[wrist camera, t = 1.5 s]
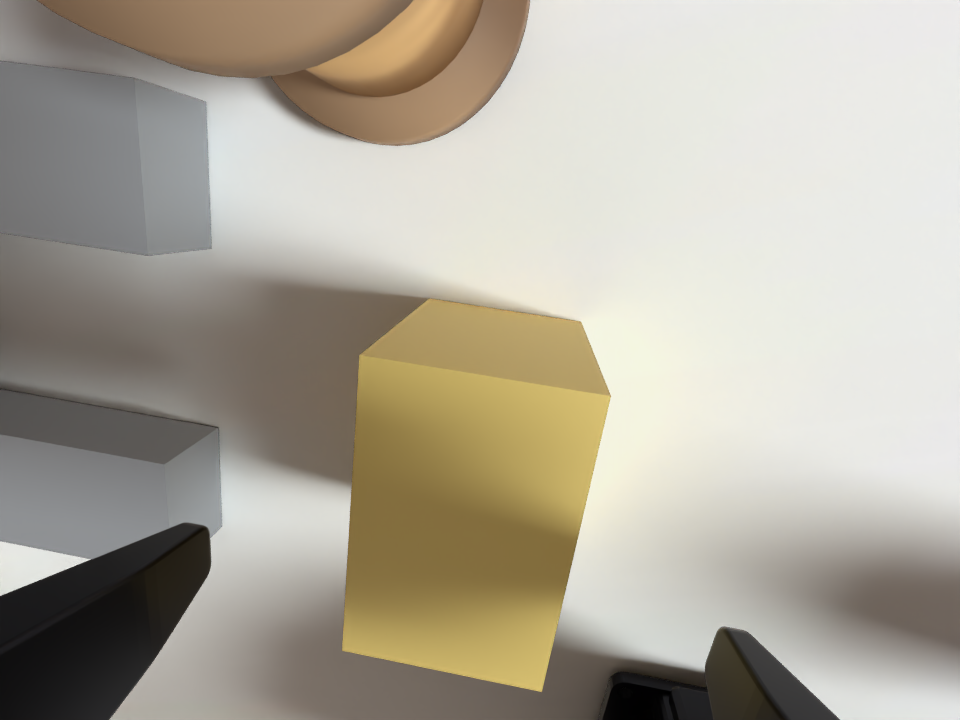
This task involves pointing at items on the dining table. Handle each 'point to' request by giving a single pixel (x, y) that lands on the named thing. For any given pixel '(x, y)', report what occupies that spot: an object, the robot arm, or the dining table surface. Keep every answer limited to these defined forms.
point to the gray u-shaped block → (119, 227)
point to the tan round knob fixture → (334, 53)
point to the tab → (469, 489)
